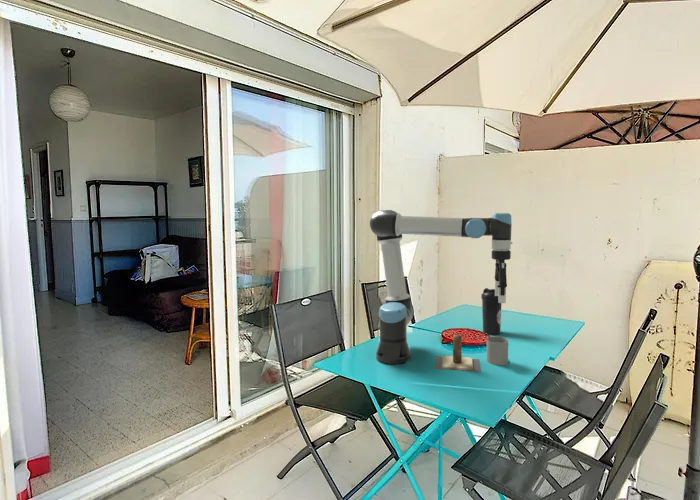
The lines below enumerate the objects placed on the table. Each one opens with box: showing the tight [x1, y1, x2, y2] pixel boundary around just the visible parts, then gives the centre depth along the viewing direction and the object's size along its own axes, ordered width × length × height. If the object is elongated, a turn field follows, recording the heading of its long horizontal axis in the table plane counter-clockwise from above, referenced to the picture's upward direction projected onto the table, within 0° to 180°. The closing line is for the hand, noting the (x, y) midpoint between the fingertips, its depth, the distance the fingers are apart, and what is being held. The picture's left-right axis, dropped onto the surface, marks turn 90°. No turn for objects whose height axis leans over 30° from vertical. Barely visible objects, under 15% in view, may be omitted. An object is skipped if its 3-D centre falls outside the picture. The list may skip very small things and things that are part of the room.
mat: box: [433, 355, 482, 373], centre depth 164 cm, size 18×14×1 cm
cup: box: [485, 335, 509, 366], centre depth 165 cm, size 8×8×10 cm
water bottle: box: [481, 287, 503, 336], centre depth 205 cm, size 10×10×23 cm
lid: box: [442, 334, 473, 371], centre depth 163 cm, size 12×12×12 cm
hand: (499, 299), depth 170 cm, fingers open, 13 cm apart
